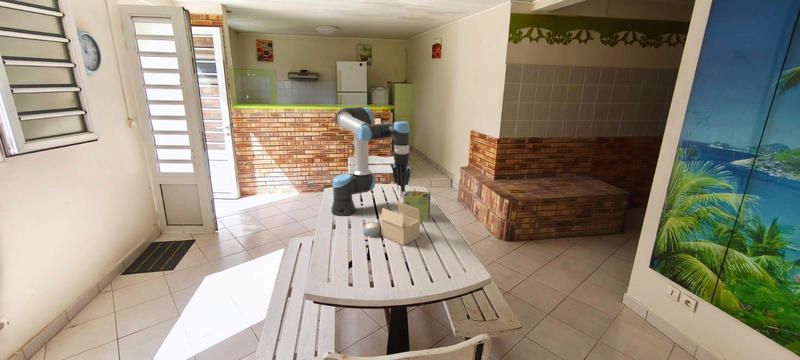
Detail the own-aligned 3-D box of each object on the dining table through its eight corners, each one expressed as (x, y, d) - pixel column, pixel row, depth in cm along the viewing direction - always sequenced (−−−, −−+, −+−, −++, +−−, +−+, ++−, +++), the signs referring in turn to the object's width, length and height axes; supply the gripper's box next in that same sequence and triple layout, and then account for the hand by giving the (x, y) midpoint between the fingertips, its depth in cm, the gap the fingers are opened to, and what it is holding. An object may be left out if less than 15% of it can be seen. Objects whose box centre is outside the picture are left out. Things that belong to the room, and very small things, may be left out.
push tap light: (360, 233, 189) (360, 225, 187) (372, 228, 195) (372, 220, 194) (371, 238, 183) (371, 230, 181) (383, 233, 189) (383, 225, 188)
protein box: (428, 222, 204) (428, 197, 199) (402, 219, 207) (403, 195, 202) (430, 215, 214) (431, 191, 209) (405, 213, 217) (406, 190, 212)
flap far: (419, 219, 182) (420, 219, 183) (418, 209, 180) (419, 209, 180) (398, 211, 192) (399, 211, 192) (397, 202, 190) (397, 202, 190)
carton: (380, 235, 186) (380, 218, 183) (396, 228, 196) (397, 211, 193) (404, 246, 176) (404, 228, 173) (420, 237, 185) (420, 220, 182)
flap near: (381, 218, 183) (381, 218, 182) (382, 208, 182) (382, 208, 181) (402, 227, 173) (402, 227, 173) (404, 216, 172) (403, 216, 172)
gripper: (386, 152, 173) (387, 195, 180) (406, 156, 165) (405, 201, 172) (397, 149, 178) (396, 192, 185) (416, 153, 170) (415, 198, 177)
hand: (401, 196), depth 178 cm, fingers closed
